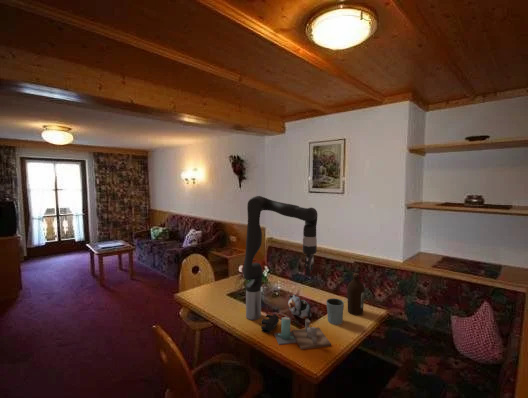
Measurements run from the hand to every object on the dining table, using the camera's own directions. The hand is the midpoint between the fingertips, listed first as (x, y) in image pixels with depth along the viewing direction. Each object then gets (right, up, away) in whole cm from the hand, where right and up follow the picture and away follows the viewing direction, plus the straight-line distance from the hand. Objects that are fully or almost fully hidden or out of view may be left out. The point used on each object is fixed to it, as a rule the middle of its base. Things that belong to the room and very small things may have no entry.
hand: (309, 272), depth 156 cm
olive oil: (+33, -32, +24) cm, 52 cm away
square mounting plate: (0, -34, -6) cm, 34 cm away
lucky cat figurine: (-3, -32, +20) cm, 38 cm away
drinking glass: (+17, -33, +13) cm, 39 cm away
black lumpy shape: (-22, -33, +4) cm, 40 cm away
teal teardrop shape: (-14, -33, -5) cm, 36 cm away
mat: (-14, -34, -5) cm, 37 cm away
